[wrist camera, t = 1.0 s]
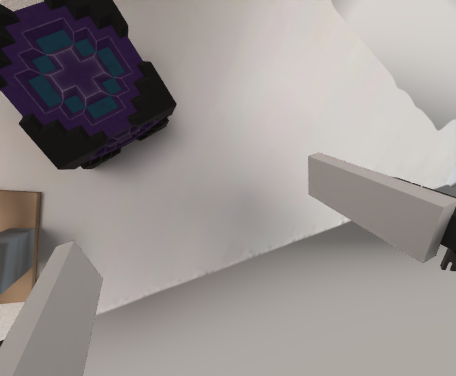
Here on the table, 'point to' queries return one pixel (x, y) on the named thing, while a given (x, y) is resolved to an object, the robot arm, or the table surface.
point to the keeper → (18, 244)
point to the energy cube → (79, 80)
